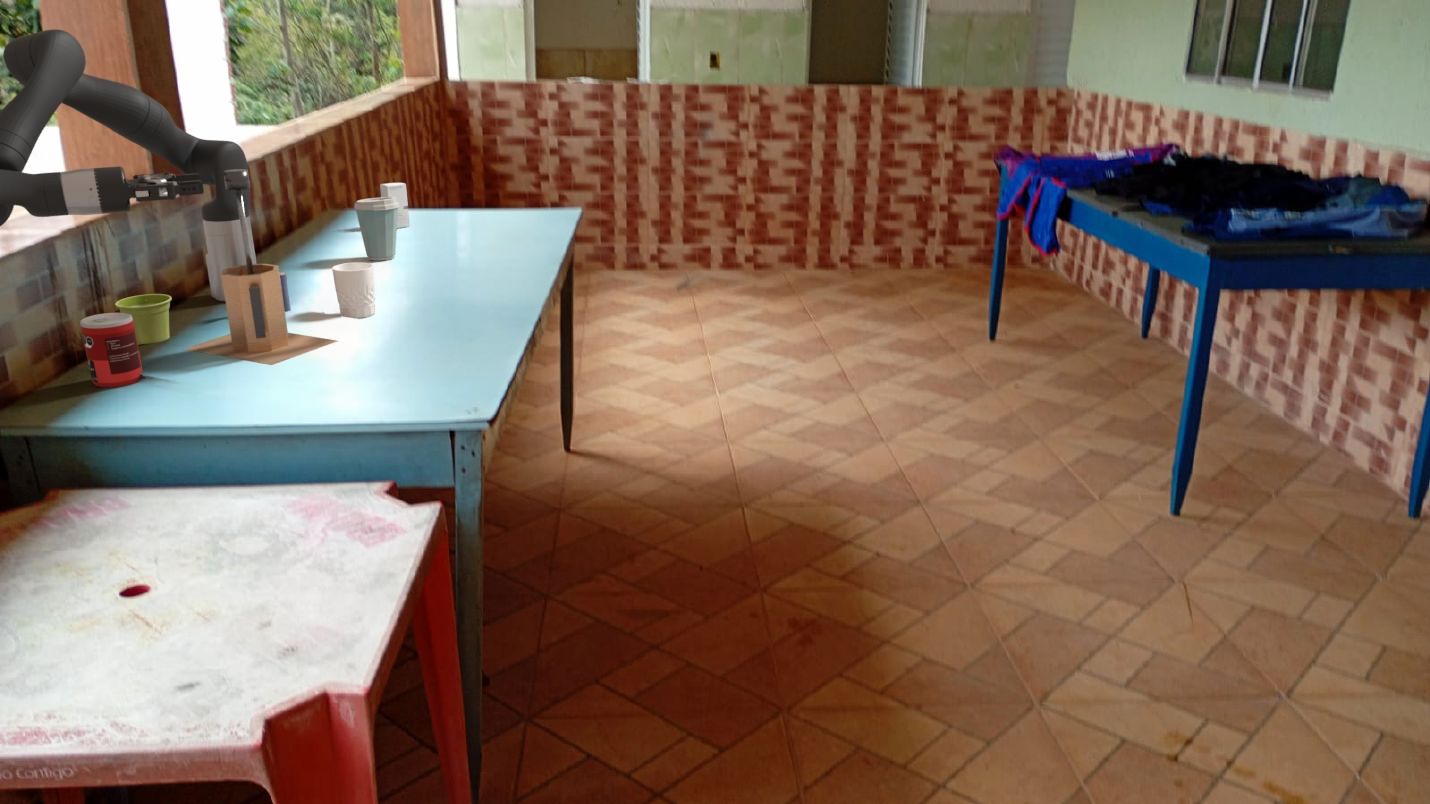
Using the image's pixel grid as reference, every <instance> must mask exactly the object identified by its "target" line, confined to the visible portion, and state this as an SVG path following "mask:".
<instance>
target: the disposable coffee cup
mask: <svg viewBox="0 0 1430 804" xmlns="http://www.w3.org/2000/svg"><path fill="white" fill-rule="evenodd" d="M398 207H400V206H399V203H398V202H397V201H396V197H381V196H380V197H371V198H364V199H359V200H356V202H354V210H355V213H356V216H357V217H356V218H357V221H358V226H359V229H360V234H361V238H362V241H363V246H364V249H365V253H366V256H367V259H368V260H369V261H377V262H378V261H379V262H380V261H390V260H393V259H394V258H395V255H396V252H397V251H396V248H397V236H398V235H397V233H398V231H397V230H398V228H397V218H398Z"/></svg>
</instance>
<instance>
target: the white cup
mask: <svg viewBox="0 0 1430 804" xmlns="http://www.w3.org/2000/svg"><path fill="white" fill-rule="evenodd" d="M331 271H332V276H333V281H334V289H335V293H336V297H337V298H336V299H337V302H338V306H339V312H340V317H342V316H343V317H342V318H348V319H349V318H351V319H356V318H357V319H363V318H364V319H365V318H369V317H371V316H374V315H375V313H376V308H375V307H376V306H375V305H376V303H375V300H376V296H375V293H376V292H375V280H374V279H375V277H374V266H373V264H372V263H370V262H363V261H362V262H345V263H341V264H339V263H338V264H336V265H334V266H332V268H331Z"/></svg>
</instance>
